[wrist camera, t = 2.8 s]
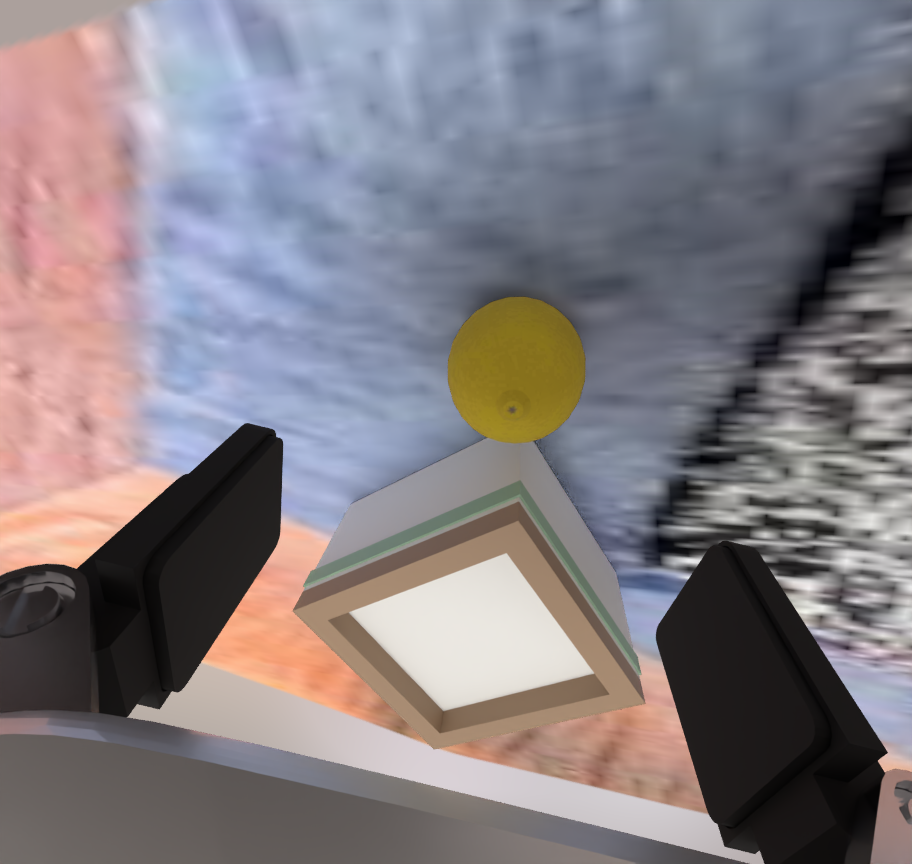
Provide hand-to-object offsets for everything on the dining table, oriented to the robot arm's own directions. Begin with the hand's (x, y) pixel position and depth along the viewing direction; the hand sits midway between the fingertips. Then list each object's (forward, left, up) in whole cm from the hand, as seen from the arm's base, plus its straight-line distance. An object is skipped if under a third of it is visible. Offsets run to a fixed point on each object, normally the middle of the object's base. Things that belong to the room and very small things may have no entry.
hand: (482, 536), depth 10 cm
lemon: (0, 0, -15) cm, 15 cm away
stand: (-10, +8, -14) cm, 19 cm away
